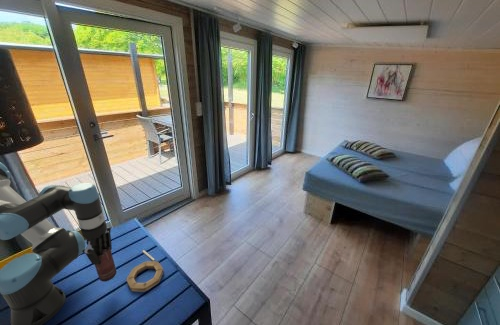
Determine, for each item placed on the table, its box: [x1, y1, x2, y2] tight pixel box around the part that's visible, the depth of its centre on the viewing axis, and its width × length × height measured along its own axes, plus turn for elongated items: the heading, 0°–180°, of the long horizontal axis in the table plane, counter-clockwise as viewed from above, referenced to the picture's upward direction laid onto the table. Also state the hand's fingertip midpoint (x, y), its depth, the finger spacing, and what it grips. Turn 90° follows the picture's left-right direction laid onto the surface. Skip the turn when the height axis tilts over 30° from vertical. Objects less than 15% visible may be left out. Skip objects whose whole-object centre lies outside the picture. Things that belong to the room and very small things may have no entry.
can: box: [94, 247, 117, 283], centre depth 85 cm, size 6×6×14 cm
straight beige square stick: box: [142, 249, 156, 261], centre depth 107 cm, size 10×1×1 cm, turn 54°
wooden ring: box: [126, 260, 164, 293], centre depth 96 cm, size 14×14×2 cm
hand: (106, 269), depth 86 cm, fingers closed
